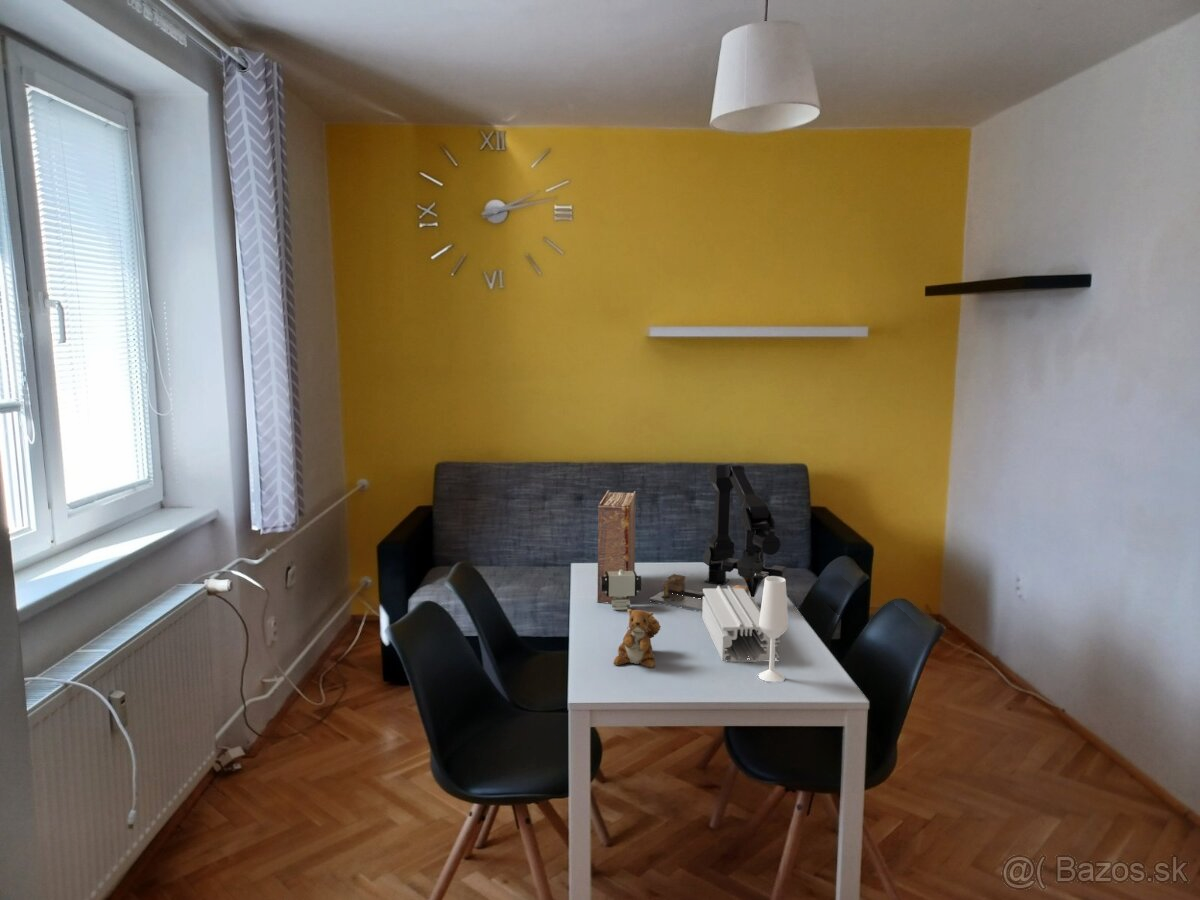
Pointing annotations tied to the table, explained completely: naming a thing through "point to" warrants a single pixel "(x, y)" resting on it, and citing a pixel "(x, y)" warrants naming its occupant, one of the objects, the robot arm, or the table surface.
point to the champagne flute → (773, 619)
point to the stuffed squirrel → (638, 639)
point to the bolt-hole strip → (678, 601)
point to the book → (615, 536)
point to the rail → (688, 593)
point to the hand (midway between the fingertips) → (752, 596)
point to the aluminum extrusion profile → (735, 625)
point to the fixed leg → (674, 583)
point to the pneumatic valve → (620, 587)
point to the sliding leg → (743, 588)
